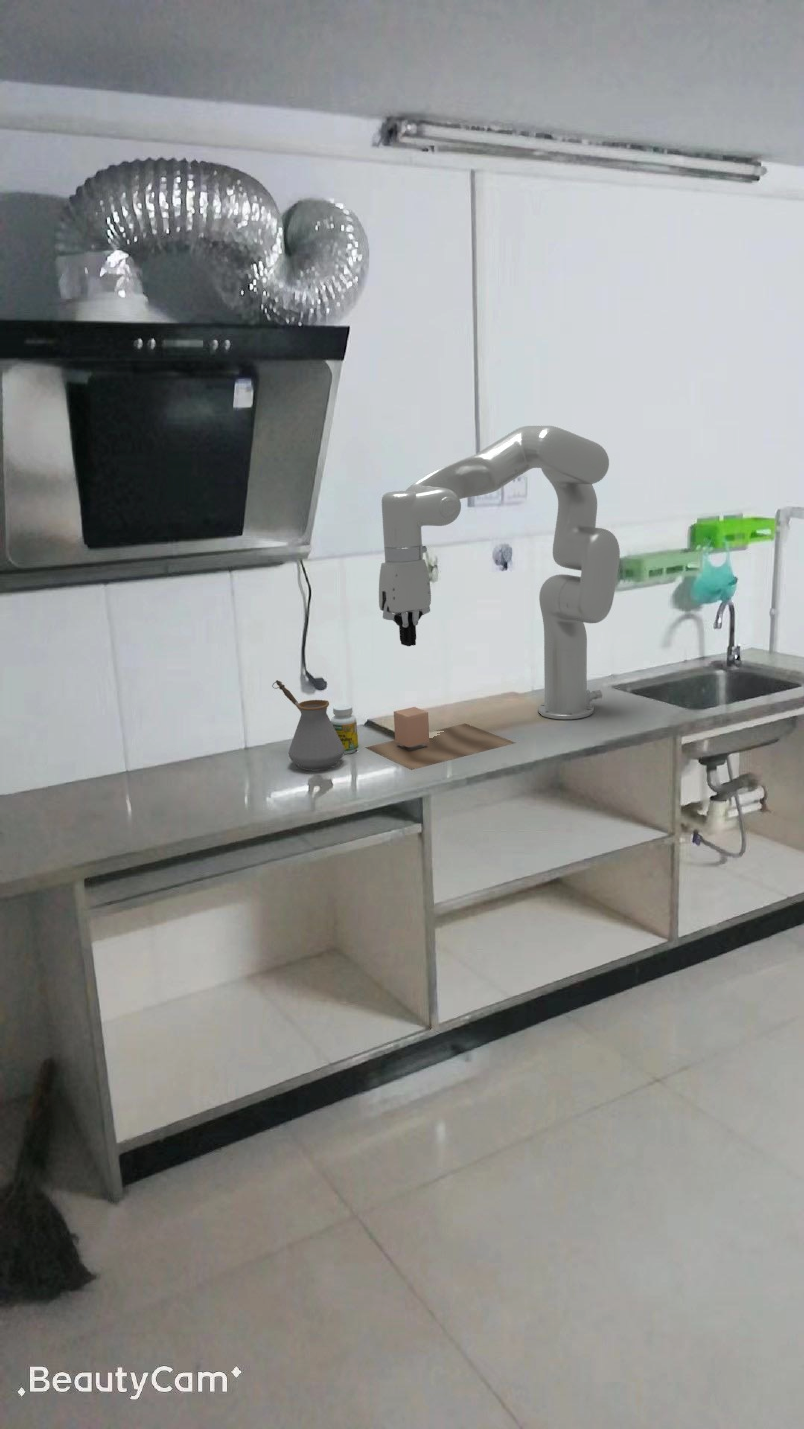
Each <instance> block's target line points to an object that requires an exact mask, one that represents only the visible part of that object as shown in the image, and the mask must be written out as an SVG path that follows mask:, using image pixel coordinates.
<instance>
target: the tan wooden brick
mask: <svg viewBox="0 0 804 1429" xmlns="http://www.w3.org/2000/svg"><path fill="white" fill-rule="evenodd" d="M429 723H430V722H429V712H428V711H426V710H424V709H421V708H418V707H416V706H413V707H407V708H402V709H397V710H394V711H393V726H394V740H395V742H397V743H399V744H402V745H404V746H406V747H408V748H409V747H413V746H417V745H421V744H425V743H429V732H430V724H429Z"/></svg>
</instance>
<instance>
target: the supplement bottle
mask: <svg viewBox="0 0 804 1429" xmlns="http://www.w3.org/2000/svg"><path fill="white" fill-rule="evenodd" d="M332 714H333V717H332V718H331V719H330V721H331V723H332V725H333V727H334V729H335V731H336V733H337V735H338V737H339V738H340V740H341V742H342V744H343V746H344V748H345V751H344V754H343V755H350V754H353V753H356V752H357V751H358V748H359V738H358V736H359V735H358V723H357V717H356V716H355V715H353V706H352V705H350V704H338V705H335V706H334V707H333V708H332Z"/></svg>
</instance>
